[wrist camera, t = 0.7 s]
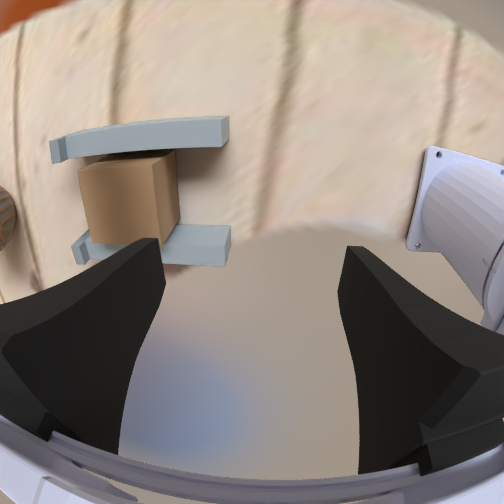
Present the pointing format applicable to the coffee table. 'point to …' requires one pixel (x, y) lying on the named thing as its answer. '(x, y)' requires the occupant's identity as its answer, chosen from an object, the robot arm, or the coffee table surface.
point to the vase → (6, 217)
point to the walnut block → (131, 197)
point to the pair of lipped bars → (148, 138)
